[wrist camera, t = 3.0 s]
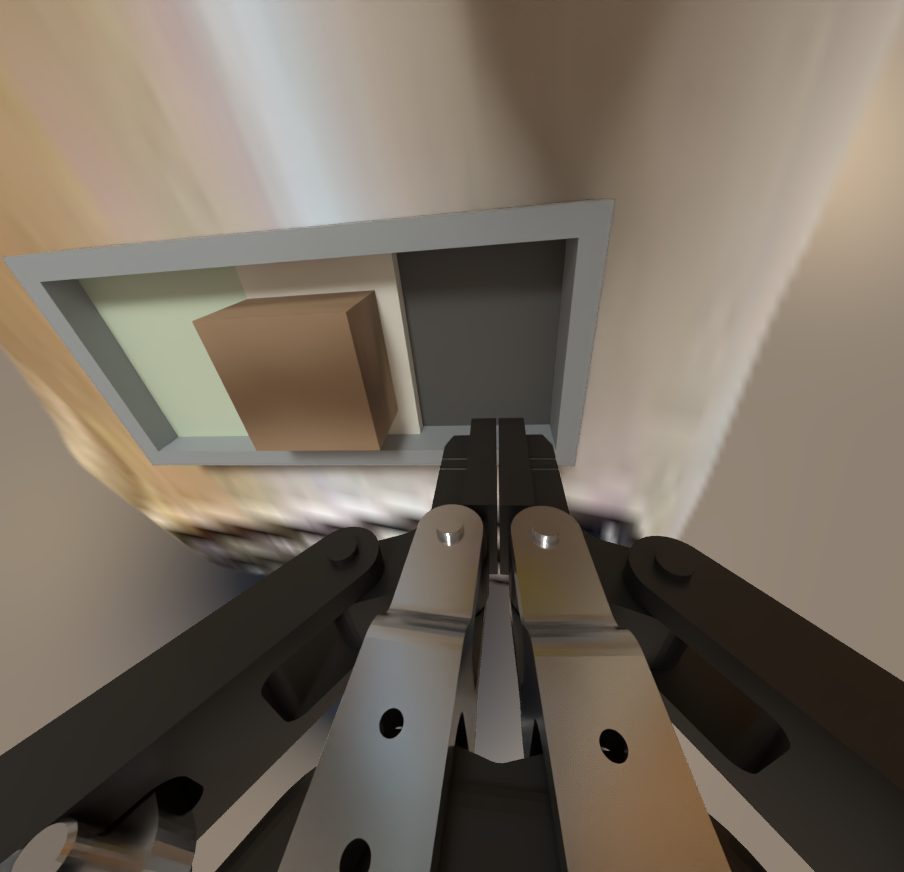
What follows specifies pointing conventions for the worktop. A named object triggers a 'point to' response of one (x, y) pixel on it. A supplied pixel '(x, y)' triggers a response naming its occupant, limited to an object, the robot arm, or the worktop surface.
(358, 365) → the block
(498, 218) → the tray
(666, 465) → the worktop surface
